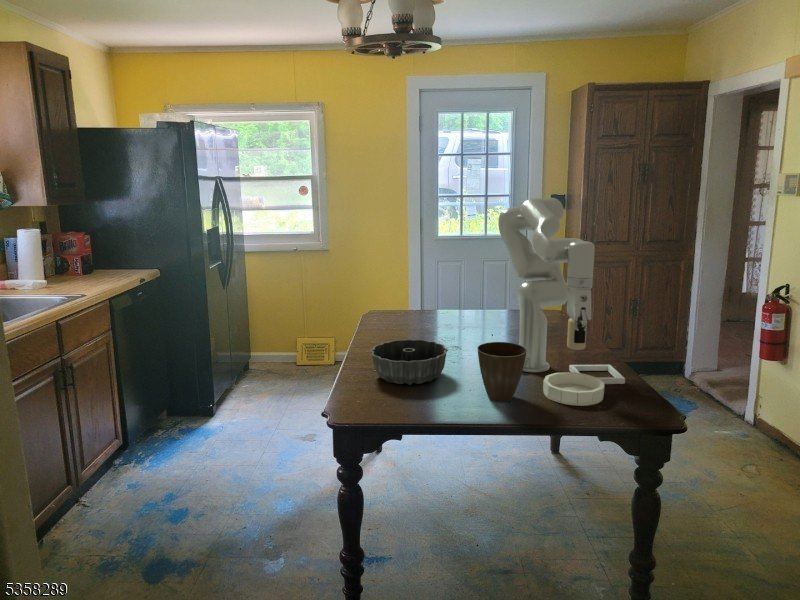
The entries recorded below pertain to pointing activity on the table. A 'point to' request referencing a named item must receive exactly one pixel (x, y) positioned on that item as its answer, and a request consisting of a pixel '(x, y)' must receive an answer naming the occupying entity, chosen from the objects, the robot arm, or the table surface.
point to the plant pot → (501, 368)
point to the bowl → (573, 388)
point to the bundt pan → (409, 360)
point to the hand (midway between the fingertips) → (576, 339)
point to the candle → (571, 336)
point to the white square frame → (607, 380)
